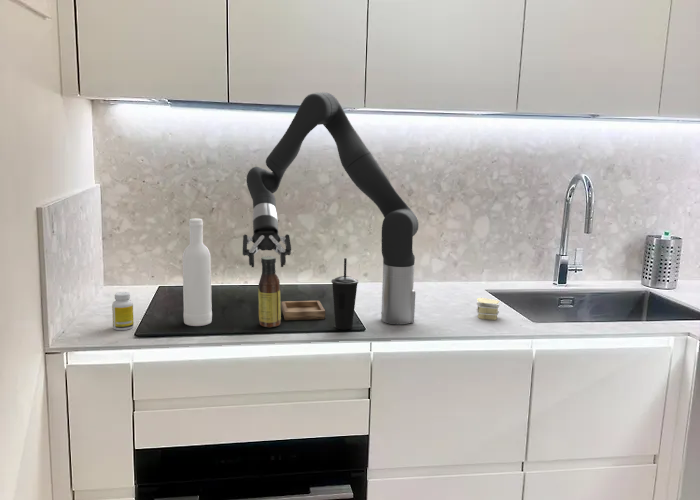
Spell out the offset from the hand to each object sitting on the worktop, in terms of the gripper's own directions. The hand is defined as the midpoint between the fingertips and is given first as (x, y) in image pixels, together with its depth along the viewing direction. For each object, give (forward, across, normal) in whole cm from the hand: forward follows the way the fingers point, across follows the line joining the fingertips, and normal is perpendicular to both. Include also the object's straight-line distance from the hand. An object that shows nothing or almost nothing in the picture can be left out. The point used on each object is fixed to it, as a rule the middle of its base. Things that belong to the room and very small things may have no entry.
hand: (267, 265), depth 183 cm
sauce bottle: (+16, 0, +7) cm, 17 cm away
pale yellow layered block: (+15, +67, +8) cm, 69 cm away
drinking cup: (+19, +21, +4) cm, 29 cm away
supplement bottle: (+14, -40, +9) cm, 43 cm away
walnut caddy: (+8, +11, +14) cm, 20 cm away
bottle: (+12, -20, +11) cm, 26 cm away
